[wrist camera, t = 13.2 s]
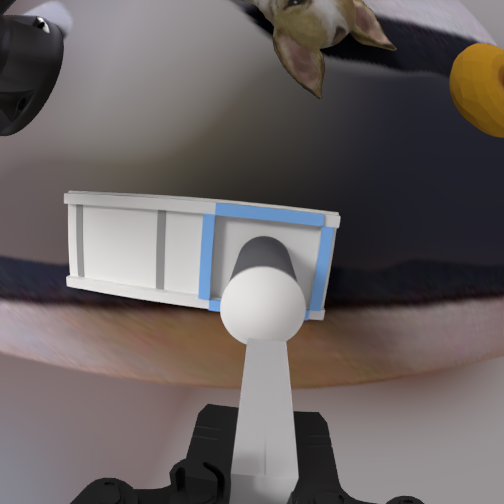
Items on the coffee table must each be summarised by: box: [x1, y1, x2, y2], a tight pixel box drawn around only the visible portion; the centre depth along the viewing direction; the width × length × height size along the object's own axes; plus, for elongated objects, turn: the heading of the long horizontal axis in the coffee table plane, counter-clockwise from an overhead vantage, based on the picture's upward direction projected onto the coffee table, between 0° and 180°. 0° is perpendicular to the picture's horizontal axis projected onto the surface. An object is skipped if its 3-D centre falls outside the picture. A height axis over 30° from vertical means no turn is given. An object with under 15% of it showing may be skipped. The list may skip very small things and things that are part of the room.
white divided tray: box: [64, 191, 340, 320], centre depth 28 cm, size 10×26×2 cm, turn 85°
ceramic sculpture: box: [243, 0, 396, 99], centre depth 19 cm, size 11×9×15 cm
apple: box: [450, 43, 504, 138], centre depth 19 cm, size 9×9×9 cm
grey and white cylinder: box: [220, 236, 306, 344], centre depth 23 cm, size 5×5×11 cm
